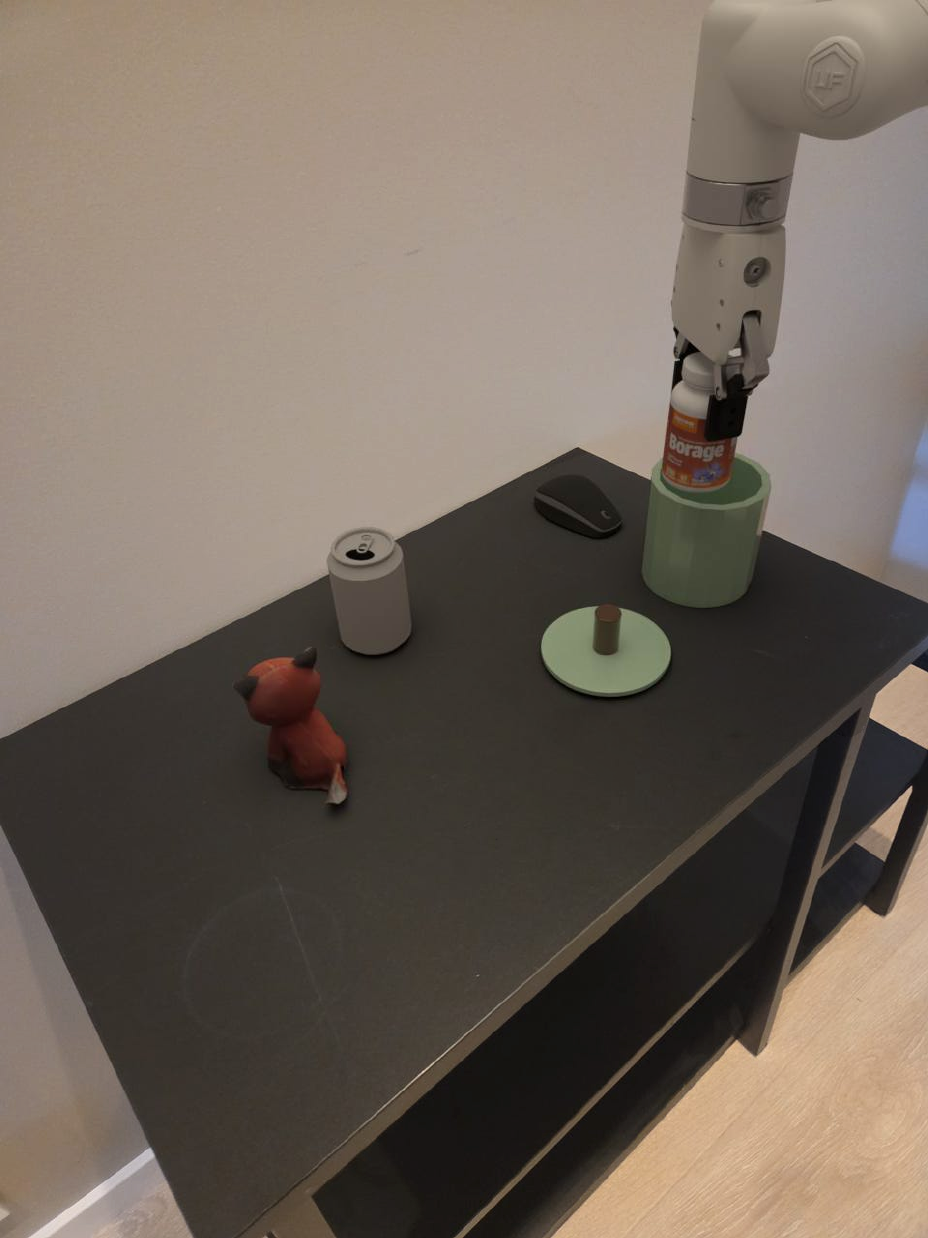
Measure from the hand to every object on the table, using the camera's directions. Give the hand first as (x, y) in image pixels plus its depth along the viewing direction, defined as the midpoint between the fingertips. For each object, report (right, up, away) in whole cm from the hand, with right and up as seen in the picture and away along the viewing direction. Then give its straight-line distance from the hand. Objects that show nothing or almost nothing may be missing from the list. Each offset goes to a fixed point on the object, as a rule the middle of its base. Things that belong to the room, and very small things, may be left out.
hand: (704, 417), depth 76 cm
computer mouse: (-7, -5, +31) cm, 33 cm away
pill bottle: (0, -5, +4) cm, 6 cm away
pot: (+5, -13, +21) cm, 25 cm away
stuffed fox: (-34, -32, +2) cm, 47 cm away
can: (-30, -19, +16) cm, 39 cm away
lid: (-7, -21, +11) cm, 25 cm away
